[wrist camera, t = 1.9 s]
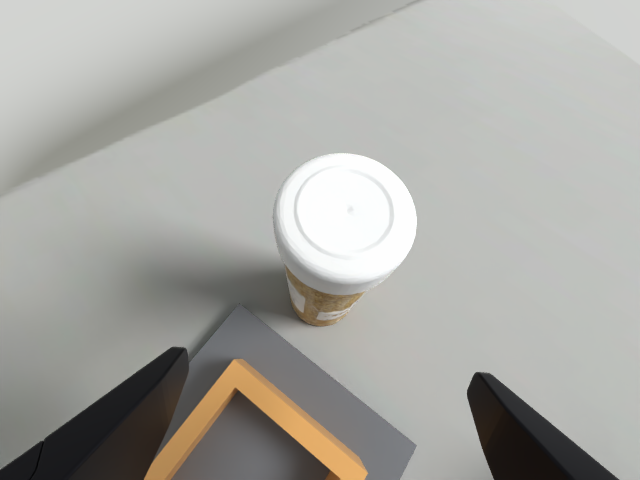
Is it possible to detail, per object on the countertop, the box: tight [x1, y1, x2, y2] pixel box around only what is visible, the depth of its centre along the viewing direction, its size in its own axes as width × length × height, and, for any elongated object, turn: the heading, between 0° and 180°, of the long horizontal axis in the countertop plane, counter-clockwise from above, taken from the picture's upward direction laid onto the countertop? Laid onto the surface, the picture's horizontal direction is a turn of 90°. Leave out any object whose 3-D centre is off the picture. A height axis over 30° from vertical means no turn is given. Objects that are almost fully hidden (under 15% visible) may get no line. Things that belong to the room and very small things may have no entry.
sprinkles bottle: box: [273, 153, 417, 326], centre depth 15 cm, size 5×5×14 cm
